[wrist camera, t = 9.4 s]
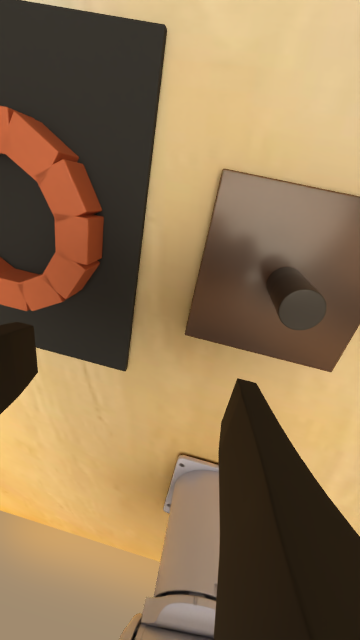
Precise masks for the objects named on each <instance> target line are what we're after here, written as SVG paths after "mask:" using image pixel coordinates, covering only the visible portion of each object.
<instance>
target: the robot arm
mask: <svg viewBox="0 0 360 640" xmlns="http://www.w3.org/2000/svg"><path fill="white" fill-rule="evenodd" d="M37 373H38V368H37V357H36V346H35V335H34V326H32V325H28V324H24V323H20V322H13V323H8V324H3V325H0V414H1V413H2V412H3V411H4V410H5V409H6V408H7V407H8V406H9V405H10V404H11V403H12V402H13V401H14V400H15V399H16V398H17V397H18V396H19V395H20V394H21V393H22V392H23V390H24V389H25V388H26V387H27V386H28V384H29V383H30V382H31V380H32V379H33V378H34V377H35V375H36V374H37ZM163 510H164V511H165V512H167V513H169V519H168V524H167V529H166V535H165V540H164V545H163V551H162V556H161V561H160V567H159V572H158V577H157V582H156V588H155V593H154V597H146V599H145V604H144V609H143V614H141V613H138V614H136V615H135V616H134V617H133V618H132V619H131V621H130V622H129V624H128V625H127V626H126V628H125V629H124V630H123V632H122V634H121V636H120V638H119V640H360V536H359V535H358V534H357V533H356V532H355V530H354V529H353V528H352V527H351V525H350V524H349V523H348V521H347V520H346V519H345V518H344V516H343V515H342V514H341V512H340V511H339V510H338V508H337V507H336V506H335V505H334V503H333V502H332V501H331V499H330V498H329V497H328V496H327V494H326V493H325V491H324V490H323V489H322V487H321V486H320V485H319V483H318V482H317V480H316V479H315V478H314V476H313V475H312V473H311V472H310V470H309V469H308V467H307V466H306V465H305V463H304V462H303V460H302V459H301V457H300V456H299V454H298V453H297V451H296V450H295V448H294V447H293V445H292V443H291V442H290V440H289V439H288V437H287V435H286V434H285V432H284V431H283V429H282V427H281V426H280V424H279V422H278V421H277V419H276V417H275V415H274V414H273V412H272V410H271V409H270V407H269V405H268V403H267V401H266V400H265V398H264V396H263V394H262V393H261V391H260V389H259V387H258V386H257V384H256V383H253V382H250V381H246V380H242V379H238V378H237V381H236V384H235V386H234V389H233V392H232V395H231V397H230V400H229V403H228V406H227V408H226V411H225V414H224V417H223V419H222V422H221V432H220V442H219V465H217V464H213V463H210V462H206V461H203V460H199V459H196V458H192V457H189V456H186V455H180V456H179V457H178V460H177V463H176V466H175V470H174V473H173V477H172V480H171V483H170V487H169V490H168V494H167V497H166V500H165V504H164V508H163Z"/></svg>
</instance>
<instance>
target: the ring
mask: <svg viewBox="0 0 360 640" xmlns="http://www.w3.org/2000/svg"><path fill="white" fill-rule="evenodd" d="M0 154H6V155H7V156H8V157H10V158H11V159H12V160H13V161H14V162H15V163H16V164H17V165H19V166H20V167H21V168H22V169H23V170H24V171H25V172H27V173H28V174H29V175H30V176H31V177H32V178H33V179H34V180H36V181H37V183H38V185H39V187H40V189H41V191H42V193H43V195H44V197H45V199H46V201H47V203H48V205H49V207H50V209H51V211H52V213H53V216H54V218H55V247H56V252H55V254H54V255H53V257H52V259H51V261H50V262H49V264H48V266H47V267H46V269H45V271H44V273H42V274H35V273H31V272H27V271H23V270H19V269H15V268H14V267H12V266H11V265H10V264H8V263H7V262H6V261H5V260H3V259H2V258H1V257H0V304H1V305H5V306H8V307H12V308H16V309H20V310H24V311H28V310H30V309H31V311H35V310H38V309H41V308H45V307H48V306H51V305H54V304H58V303H61V302H63V301H65V300H66V299H68V298H70V297H71V296H73V295H74V294H76V293H77V292H79V291H80V290H82V289H83V287H84V286H85V284H86V283H87V281H88V280H89V279H90V277H91V276H92V274H93V273H94V272H95V270H96V269H97V267H98V266H99V264H100V262H99V261H97V260H99V259H101V258H102V245H103V224H104V217H103V216H99V215H94V214H96V213H98V212H101V211H102V208H101V205H100V203H99V201H98V198H97V196H96V193H95V191H94V189H93V186H92V184H91V181H90V179H89V177H88V174H87V172H86V169H85V167H84V165H83V164H81V163H77V161H78V159H79V157H78V156H77V155H76V154H75V153H74V152H73V151H72V150H71V149H70V148H68V147H67V146H66V145H65V144H64V143H63V142H62V141H61V140H60V139H59V138H58V137H57V136H56V135H55V134H53V133H52V132H51V131H50V130H49V129H48V128H47V127H46V126H45V125H44V124H43V123H42V122H39V121H37V120H35V119H34V118H32V117H30V116H27V115H25V114H23V113H20V112H18V111H15V110H13V109H11V108H8V107H5V106H0Z"/></svg>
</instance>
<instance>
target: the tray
mask: <svg viewBox="0 0 360 640" xmlns="http://www.w3.org/2000/svg"><path fill="white" fill-rule="evenodd" d="M166 33H167V29H166V26H165V25H164V24H158V23H152V22H146V21H140V20H134V19H128V18H122V17H116V16H110V15H105V14H99V13H93V12H87V11H81V10H75V9H69V8H63V7H57V6H51V5H46V4H40V3H34V2H28V1H22V0H0V106H5V107H8V108H11V109H13V110H15V111H18V112H20V113H23V114H25V115H27V116H30V117H32V118H34V119H35V120H37V121H39V122H42V123H43V124H44V125H45V126H46V127H47V128H48V129H49V130H50V131H51V132H52V133H53V134H55V135H56V136H57V137H58V138H59V139H60V140H61V141H62V142H63V143H64V144H65V145H66V146H67V147H68V148H70V149H71V150H72V151H73V152H74V153H75V154H76V155H77V156H78V157H79V159H78V161H77V163H81V164H83V165H84V167H85V169H86V172H87V174H88V177H89V179H90V181H91V184H92V186H93V189H94V191H95V193H96V196H97V198H98V201H99V203H100V205H101V208H102V211H101V212H98V213H96V214H94V215H99V216H103V217H104V224H103V245H102V258H101V259H99V260H97V261H99V262H100V264H99V266H98V267H97V269H96V270H95V272H94V273H93V274H92V276H91V277H90V279H89V280H88V281H87V283H86V284H85V286H84V287H83V289H82V290H80V291H79V292H77V293H76V294H74V295H73V296H71V297H70V298H68V299H66V300H65V301H63V302H61V303H58V304H54V305H51V306H48V307H45V308H41V309H38V310H35V311H31V309H30V310H28V311H24V310H20V309H16V308H12V307H8V306H5V305H1V304H0V325H3V324H8V323H13V322H20V323H24V324H28V325H32V326H34V335H35V346H36V347H37V348H40V349H44V350H48V351H51V352H55V353H59V354H63V355H66V356H70V357H74V358H77V359H81V360H85V361H88V362H92V363H96V364H99V365H103V366H107V367H111V368H114V369H118V370H122V371H126V369H127V364H128V356H129V347H130V339H131V330H132V322H133V313H134V305H135V296H136V288H137V279H138V271H139V262H140V254H141V245H142V237H143V228H144V220H145V211H146V203H147V194H148V186H149V177H150V169H151V161H152V152H153V144H154V135H155V127H156V118H157V110H158V101H159V93H160V84H161V76H162V67H163V59H164V50H165V42H166ZM55 252H56V247H55V218H54V216H53V213H52V211H51V209H50V207H49V205H48V203H47V201H46V199H45V197H44V195H43V193H42V191H41V189H40V187H39V185H38V183H37V181H36V180H34V179H33V178H32V177H31V176H30V175H29V174H28V173H27V172H25V171H24V170H23V169H22V168H21V167H20V166H19V165H17V164H16V163H15V162H14V161H13V160H12V159H11V158H10V157H8V156H7V155H6V154H0V257H1V258H2V259H3V260H5V261H6V262H7V263H8V264H10V265H11V266H12V267H14V268H15V269H19V270H23V271H27V272H31V273H35V274H42V273H44V271H45V269H46V267H47V266H48V264H49V262H50V261H51V259H52V257H53V255H54V254H55Z"/></svg>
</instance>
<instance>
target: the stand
mask: <svg viewBox="0 0 360 640" xmlns="http://www.w3.org/2000/svg"><path fill="white" fill-rule="evenodd" d="M359 325H360V197H359V196H354V195H350V194H345V193H340V192H335V191H330V190H325V189H320V188H316V187H311V186H306V185H301V184H296V183H291V182H287V181H282V180H277V179H272V178H267V177H262V176H258V175H253V174H248V173H243V172H238V171H233V170H229V169H223V170H222V175H221V179H220V183H219V188H218V192H217V196H216V201H215V205H214V209H213V214H212V218H211V222H210V227H209V231H208V235H207V240H206V244H205V248H204V253H203V257H202V261H201V266H200V270H199V274H198V279H197V283H196V287H195V292H194V296H193V300H192V305H191V309H190V313H189V318H188V322H187V326H186V331H185V335H187V336H191V337H195V338H199V339H203V340H207V341H211V342H215V343H219V344H223V345H227V346H230V347H234V348H238V349H242V350H246V351H250V352H254V353H258V354H262V355H266V356H270V357H273V358H277V359H281V360H285V361H289V362H293V363H297V364H301V365H305V366H309V367H313V368H316V369H320V370H324V371H328V372H332V370H333V369H334V367H335V365H336V364H337V362H338V360H339V359H340V357H341V355H342V353H343V352H344V350H345V348H346V347H347V345H348V343H349V342H350V340H351V338H352V336H353V335H354V333H355V331H356V330H357V328H358V326H359Z"/></svg>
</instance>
